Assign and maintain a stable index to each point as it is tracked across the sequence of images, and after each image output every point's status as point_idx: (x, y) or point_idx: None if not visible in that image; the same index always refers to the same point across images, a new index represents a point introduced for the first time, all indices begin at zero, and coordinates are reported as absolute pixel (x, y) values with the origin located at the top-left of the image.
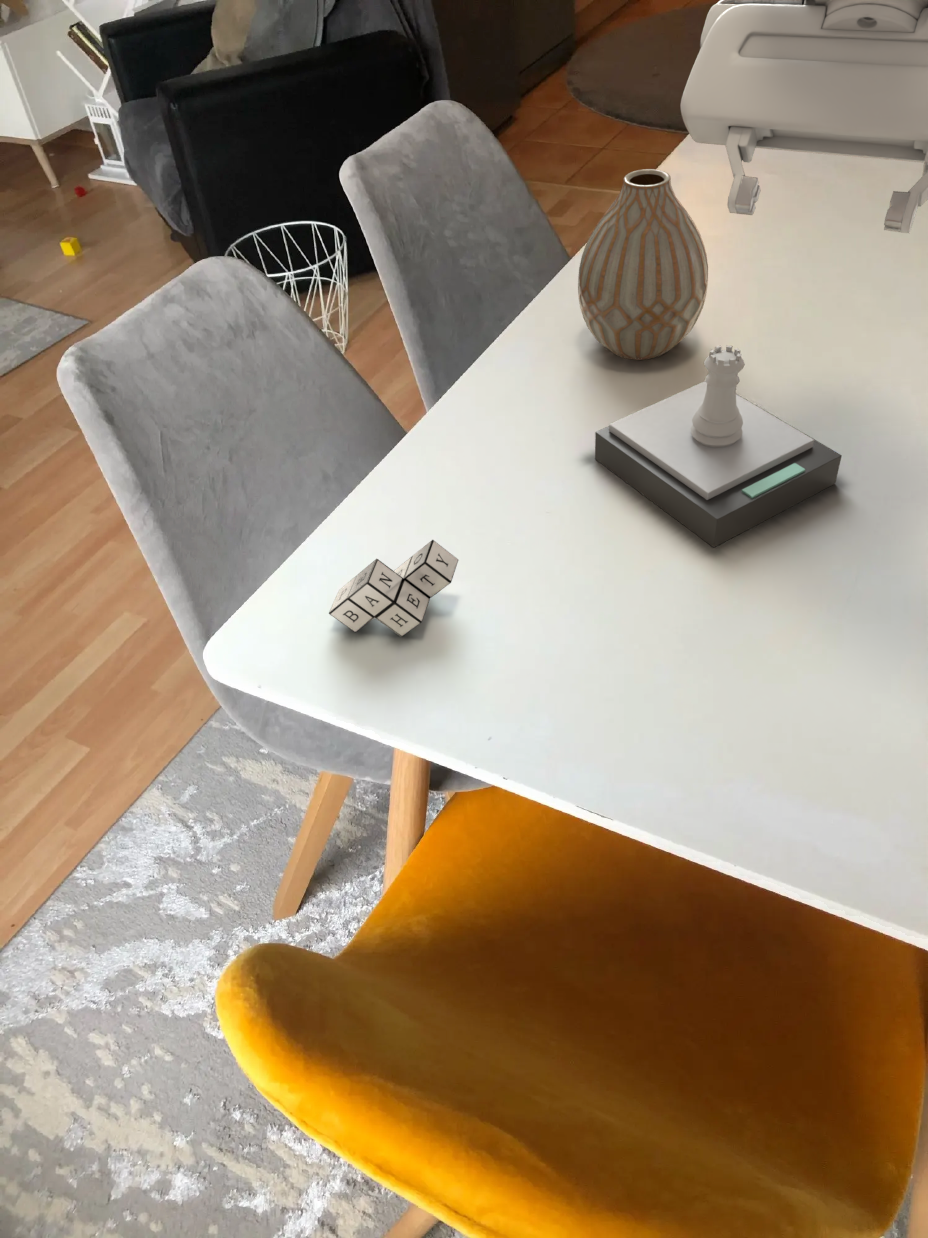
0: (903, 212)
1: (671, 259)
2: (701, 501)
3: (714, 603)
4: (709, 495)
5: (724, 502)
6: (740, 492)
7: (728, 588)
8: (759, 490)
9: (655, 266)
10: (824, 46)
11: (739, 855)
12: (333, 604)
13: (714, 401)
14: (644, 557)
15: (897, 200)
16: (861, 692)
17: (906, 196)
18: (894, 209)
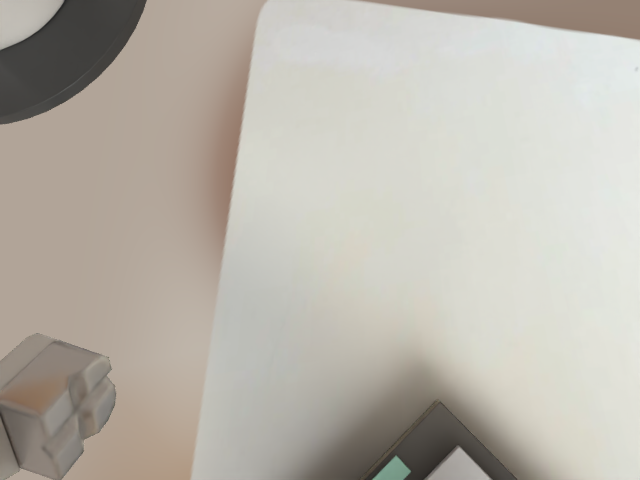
0: (44, 350)
1: None
2: (465, 442)
3: (428, 296)
4: (456, 447)
5: (433, 441)
6: (412, 468)
7: (414, 324)
8: (386, 470)
9: None
10: None
11: (387, 8)
12: None
13: None
14: (524, 370)
15: (43, 388)
16: (281, 193)
17: (9, 392)
18: (65, 363)
